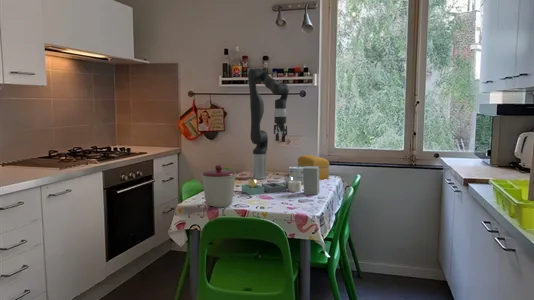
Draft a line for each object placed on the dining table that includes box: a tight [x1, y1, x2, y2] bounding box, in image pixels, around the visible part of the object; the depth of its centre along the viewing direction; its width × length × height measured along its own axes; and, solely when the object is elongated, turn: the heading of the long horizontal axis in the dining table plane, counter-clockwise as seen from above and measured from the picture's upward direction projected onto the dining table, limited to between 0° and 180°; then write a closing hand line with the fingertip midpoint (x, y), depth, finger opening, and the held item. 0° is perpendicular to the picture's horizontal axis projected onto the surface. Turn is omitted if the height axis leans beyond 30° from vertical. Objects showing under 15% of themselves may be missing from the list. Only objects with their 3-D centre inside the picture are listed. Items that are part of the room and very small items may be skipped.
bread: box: [297, 154, 330, 181], centre depth 302 cm, size 24×13×15 cm, turn 22°
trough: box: [241, 183, 265, 196], centre depth 251 cm, size 13×9×4 cm, turn 25°
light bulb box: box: [288, 166, 304, 185], centre depth 278 cm, size 11×7×11 cm, turn 84°
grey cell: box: [284, 175, 293, 190], centre depth 263 cm, size 5×5×8 cm
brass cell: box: [248, 177, 258, 189], centre depth 251 cm, size 5×5×8 cm
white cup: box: [287, 181, 302, 193], centre depth 256 cm, size 7×8×5 cm
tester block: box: [261, 182, 286, 194], centre depth 256 cm, size 12×10×4 cm
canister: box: [200, 164, 237, 208], centre depth 219 cm, size 18×18×21 cm
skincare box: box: [303, 166, 320, 196], centre depth 248 cm, size 8×7×16 cm
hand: (280, 141), depth 269 cm, fingers open, 8 cm apart
